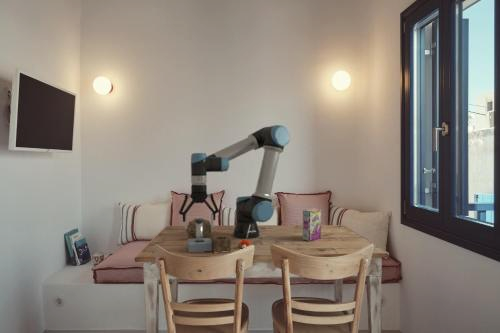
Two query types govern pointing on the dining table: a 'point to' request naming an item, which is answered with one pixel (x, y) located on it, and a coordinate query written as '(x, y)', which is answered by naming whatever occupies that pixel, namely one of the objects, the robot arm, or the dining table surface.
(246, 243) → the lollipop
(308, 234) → the candy bar box
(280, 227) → the dining table surface
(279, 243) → the dining table surface
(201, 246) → the dock
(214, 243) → the mount
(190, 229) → the rock
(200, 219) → the lock pin
